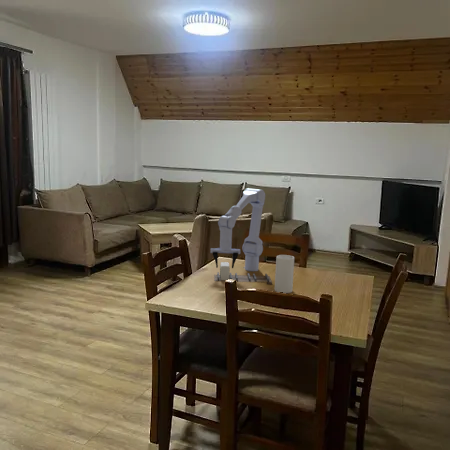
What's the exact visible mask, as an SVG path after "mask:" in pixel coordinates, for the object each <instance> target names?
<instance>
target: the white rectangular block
mask: <svg viewBox="0 0 450 450" xmlns="http://www.w3.org/2000/svg"><path fill="white" fill-rule="evenodd" d="M219 275H220V279H221V280H228V279H229V275H230V263H229V262H228V261H220V267H219Z"/></svg>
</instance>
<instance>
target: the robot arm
mask: <svg viewBox="0 0 450 450" xmlns="http://www.w3.org/2000/svg"><path fill="white" fill-rule="evenodd" d="M265 201H266V193H265V190H264V189H258V188H251V187H250V188H249V187H247V188H245V189H244V191H243V192H242V197H241V198H240V200H239V201H238V202H237V204H236V205H233V206H231V207H230V208H229V210H227V212H226V213H225V214H224V215H221V216H220V217H219V219H218V221H217V225H218V227H219V229H218V230H219V231H220V232H219V247H217V248H215V247H214V248H212V247H211V248H210V254H212V257H213V259H214V261H215V267H216V269H218V267H219V265H218V264H219V263H218V260H219V259H218V258H219V257H218V256H219V254H232V261H231V269H234V267H235V262H236V261H237V260H238V259H237V258H238V257H239V255H240V254H241V249H240V248H232V243H233V241H232V240H233V228H234V227H235V226H236V225H235V224H236V222H237V219H238V218H239V217H240V216H241V215H242V210H244V208H245V207H246V206H247V205H248V204H251V207H252V209H251V219H250V226H249V232H248V236H247V237H246V238H244V241H243V244H242V252H243V253H244V255H245V258H244V267H243V269H244V270H245V271H247V272H258V271H259V266H260V265H259V264H260V256H261V255H262V253H263V251H264V247H263V243H264V242H263V240H262V239H261V238H260V230H261V223H262V217H263V216H262V214H263V208H264V205H265Z"/></svg>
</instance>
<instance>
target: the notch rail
mask: <svg viewBox="0 0 450 450" xmlns="http://www.w3.org/2000/svg"><path fill="white" fill-rule="evenodd" d="M216 273H217V274H214V275H213V276H214V277H213V278H214V280H213V281H214V282H226V281H225V280H221V279H220V271H217V272H216ZM229 279H233V280H236V281H237V282H239V283H241V282H242V283H266V285H273V281H272V278H271V276H270V275H269V274H268V273H264V275H256V273H255V272H254V273H252V275H250V273H247V275H243V274H241V275H240V274H238V273H237V272H234V274H232V272H229ZM237 282H236V283H237Z"/></svg>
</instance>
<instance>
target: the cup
mask: <svg viewBox="0 0 450 450" xmlns="http://www.w3.org/2000/svg"><path fill="white" fill-rule="evenodd" d="M275 257H276V258H275V259H276V260H275V261H276V262H275V271H274V273H275V275H274V291H275V292H276V293H279V292H283V293H282V294H290V293H292V292H293V284H294V269H295V256H293V255H289V254H288V255H287V254H279V255H276V256H275Z"/></svg>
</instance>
